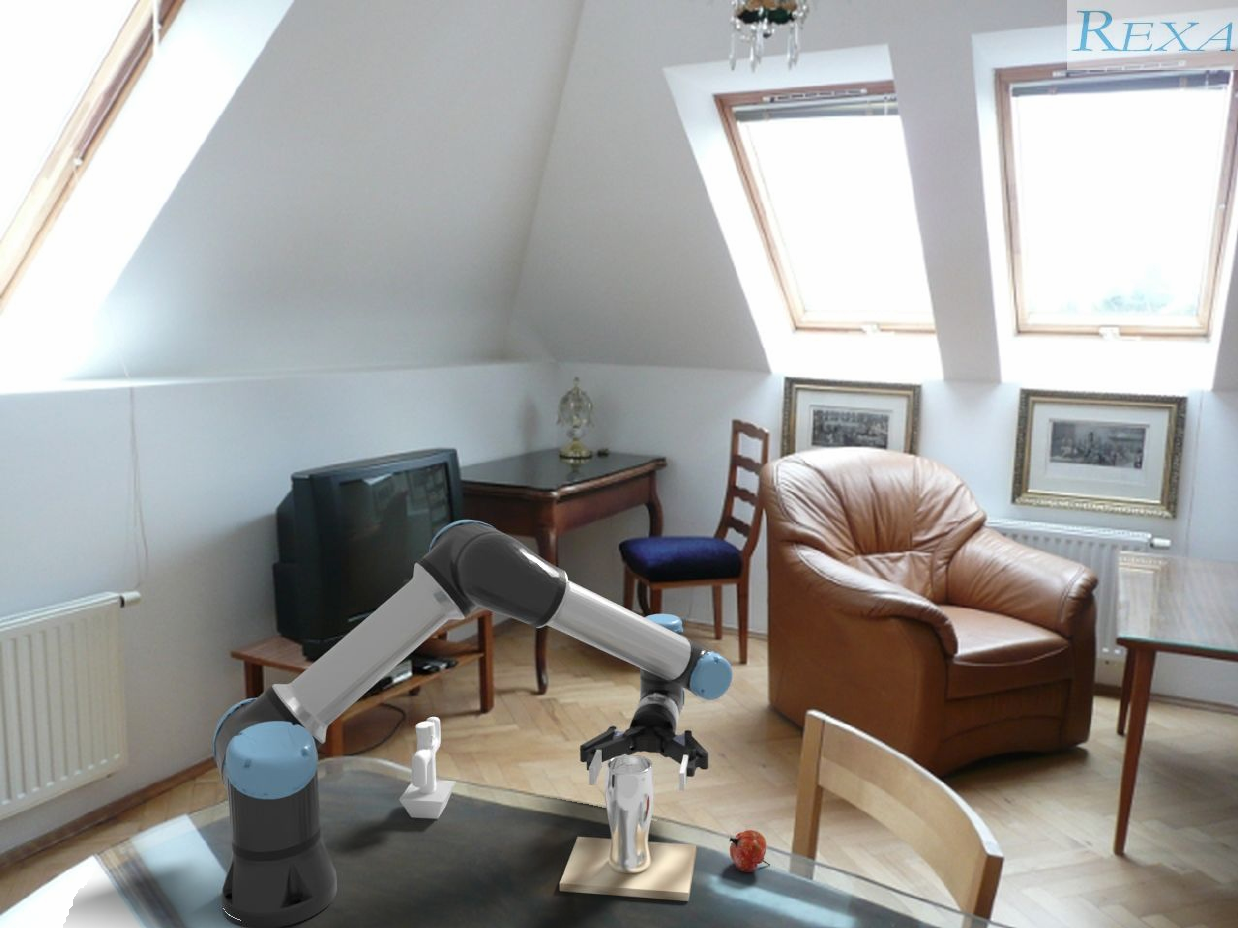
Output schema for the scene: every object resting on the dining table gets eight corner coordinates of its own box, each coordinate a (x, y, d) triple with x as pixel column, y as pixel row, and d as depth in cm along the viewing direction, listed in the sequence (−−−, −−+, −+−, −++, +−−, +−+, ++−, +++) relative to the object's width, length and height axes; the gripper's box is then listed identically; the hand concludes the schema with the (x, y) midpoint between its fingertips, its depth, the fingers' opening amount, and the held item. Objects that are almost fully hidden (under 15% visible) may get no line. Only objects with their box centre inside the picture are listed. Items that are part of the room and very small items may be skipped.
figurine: (397, 824, 164) (393, 734, 162) (416, 796, 174) (413, 711, 171) (441, 826, 163) (438, 736, 161) (458, 799, 173) (455, 713, 170)
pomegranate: (756, 865, 154) (715, 838, 153) (780, 839, 153) (739, 811, 152) (760, 890, 149) (718, 862, 148) (785, 863, 147) (743, 835, 146)
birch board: (559, 890, 145) (559, 882, 145) (577, 843, 158) (577, 836, 157) (688, 900, 142) (688, 892, 142) (696, 852, 155) (696, 844, 155)
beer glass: (649, 877, 146) (649, 776, 144) (601, 872, 147) (600, 772, 145) (657, 852, 152) (657, 755, 150) (611, 848, 154) (610, 752, 152)
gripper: (581, 698, 177) (554, 750, 156) (728, 705, 173) (720, 759, 152) (582, 740, 178) (555, 797, 158) (728, 748, 174) (720, 807, 154)
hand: (636, 779), depth 155 cm, fingers open, 13 cm apart
